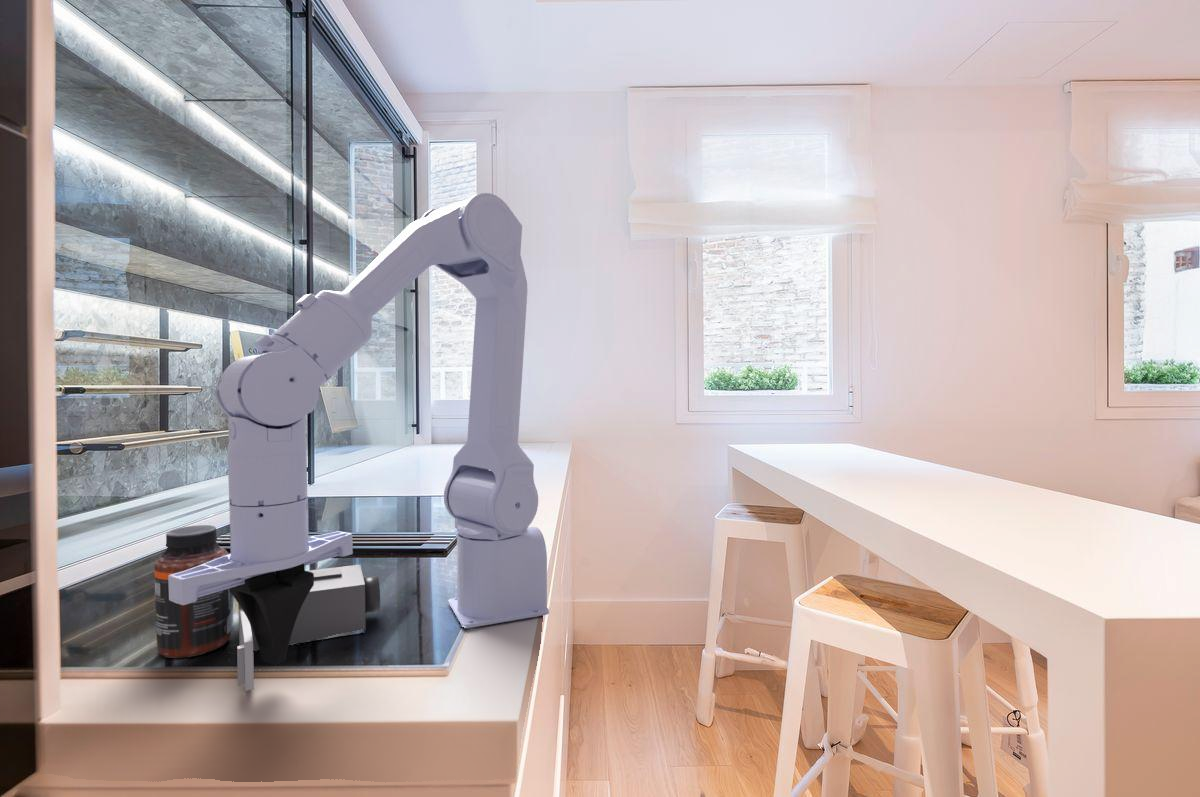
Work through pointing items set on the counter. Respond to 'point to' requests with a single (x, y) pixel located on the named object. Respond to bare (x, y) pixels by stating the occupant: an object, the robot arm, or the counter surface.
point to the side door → (245, 653)
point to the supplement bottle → (198, 621)
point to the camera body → (334, 604)
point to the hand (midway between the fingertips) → (273, 660)
